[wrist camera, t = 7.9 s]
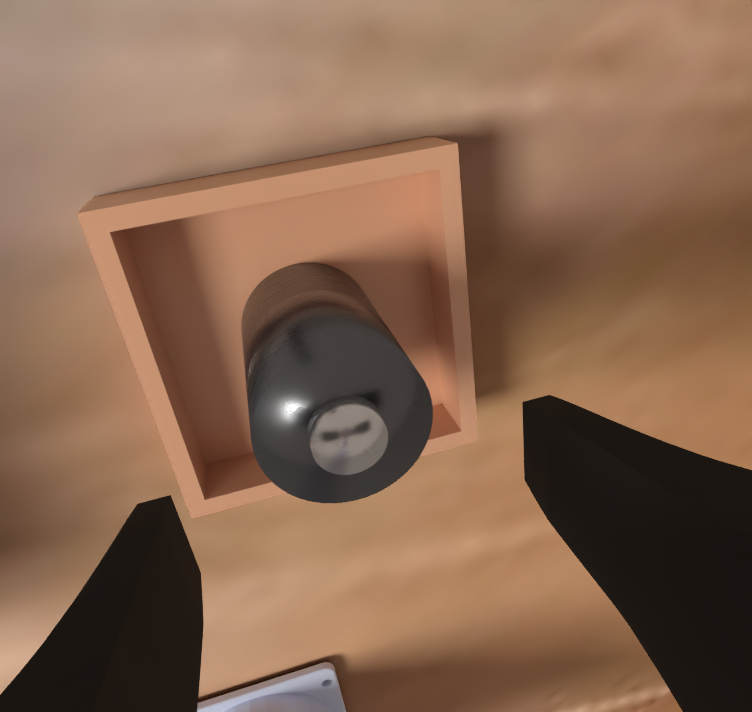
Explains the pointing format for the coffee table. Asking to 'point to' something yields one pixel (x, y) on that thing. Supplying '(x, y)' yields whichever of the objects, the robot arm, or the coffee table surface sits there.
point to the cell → (329, 387)
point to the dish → (260, 259)
